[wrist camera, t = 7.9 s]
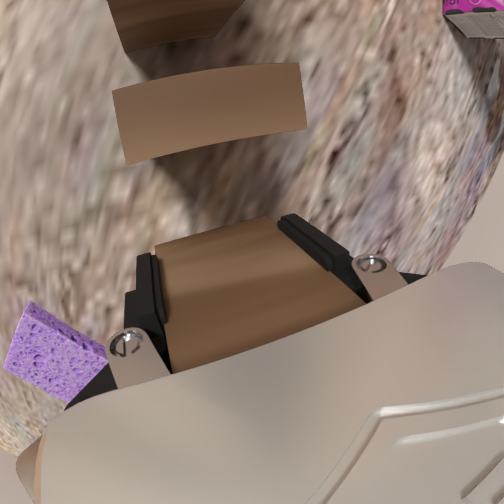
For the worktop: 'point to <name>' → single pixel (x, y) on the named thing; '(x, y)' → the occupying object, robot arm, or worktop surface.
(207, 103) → the tile
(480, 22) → the candy bar box
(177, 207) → the worktop surface
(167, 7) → the tile
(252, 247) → the tile
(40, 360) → the sponges
